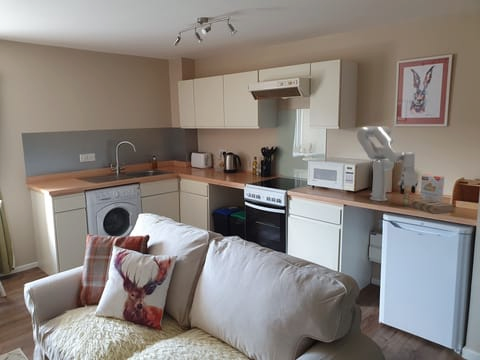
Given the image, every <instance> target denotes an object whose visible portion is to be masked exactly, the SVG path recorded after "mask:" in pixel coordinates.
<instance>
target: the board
mask: <svg viewBox="0 0 480 360" xmlns="http://www.w3.org/2000/svg"><path fill="white" fill-rule="evenodd" d="M410 208H412V209H416V210H419V211H423V212H426V213H431V214H433V215H436V214H445V213H444V212H446V213H453V212H454V204H452V203H449V202H444V201H442V202H441V201H437V200H433V199H420V198H419V199H413V200H411V201H410Z"/></svg>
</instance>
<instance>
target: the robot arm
mask: <svg viewBox="0 0 480 360" xmlns="http://www.w3.org/2000/svg"><path fill="white" fill-rule="evenodd" d="M391 133H392V131H391V129H390V127H389V126H386V125H384V126H383V125H381V126H377V125H376V126H374V125H372V126H370V125H369V126H368V125H367V126H362V127H360V128H358V130H357V132H356V138H357V140H358V142H359V144H360V145H361V146H362V148H363V150H364V152H365V153H366V155H367V157H368V158H369V160H374V161H372V165H371V166H372V172H373V173H372V175H373V177H372V192H371V193H369V195H370V197H369V200H372V201H376V202H377V201H378V202H385V201H388V197H386V192H387V190H386V189H387V173H386V172H387V171H392V170H393V169H394V167H395V163H402V168H401V175H400V180H399V181H398V182H397V185H398V188H399V191H400V192H399V194H400V195H404V193H405V187H410V193H412V194H416V188H417V186H418V184H419V181H418V180H417V176H416V175H417V174H416V171H415V159H416V157H415V156H416V154H415V152H412V151H395V150H394V149H393V148H392V146H391V145H392V144H393V142H394V139H393V138H392V136H391ZM370 138H375V139H376V140H377V141H378V143H380V144H381V146H382V147H380V146H376V144H375V143H374V141H373V140H371V139H370Z"/></svg>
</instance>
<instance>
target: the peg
mask: <svg viewBox="0 0 480 360" xmlns="http://www.w3.org/2000/svg"><path fill="white" fill-rule="evenodd" d="M409 197H410V193H409V192H404V194H403V206H405V207H408V206H409V199H410V198H409Z"/></svg>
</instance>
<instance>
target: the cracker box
mask: <svg viewBox="0 0 480 360" xmlns="http://www.w3.org/2000/svg"><path fill="white" fill-rule="evenodd" d="M444 183H445V176H443V175H435V174H428V173H427V174H422V175H421V182H420V194H419V200H420V199H433V200H437V201H441V202H443V198H444V197H443V194H444V186H445V184H444Z"/></svg>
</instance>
